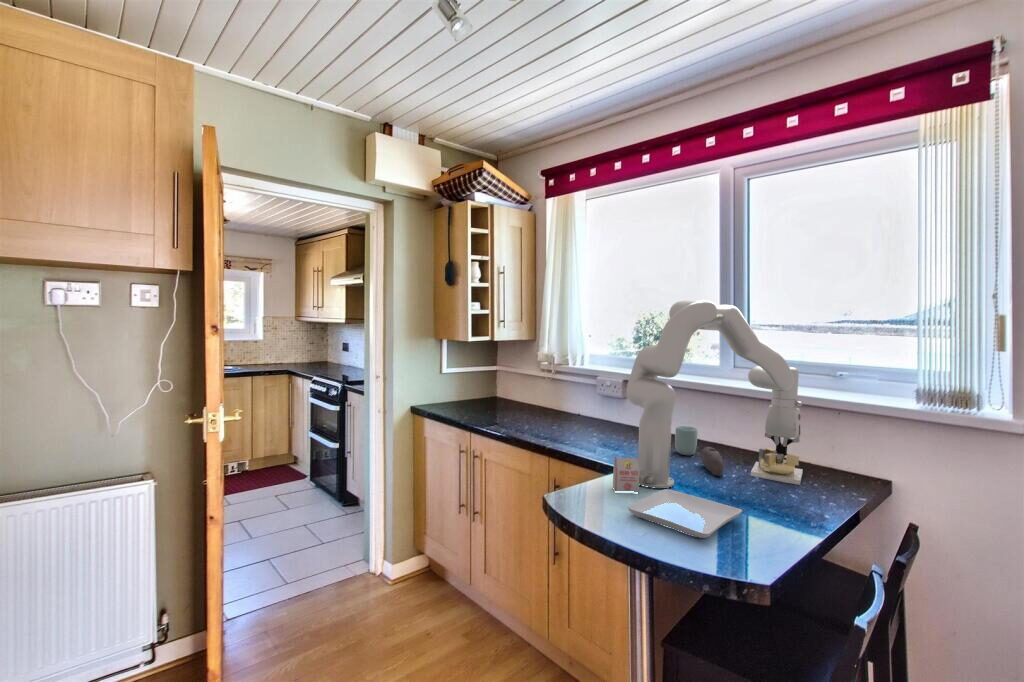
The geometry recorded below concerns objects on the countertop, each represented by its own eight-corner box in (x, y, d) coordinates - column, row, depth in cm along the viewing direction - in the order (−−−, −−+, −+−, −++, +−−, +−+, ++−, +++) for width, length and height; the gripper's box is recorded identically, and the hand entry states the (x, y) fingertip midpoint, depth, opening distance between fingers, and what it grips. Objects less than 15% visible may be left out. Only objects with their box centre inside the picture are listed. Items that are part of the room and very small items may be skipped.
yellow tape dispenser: (802, 471, 160) (803, 454, 159) (789, 477, 153) (790, 460, 152) (767, 462, 168) (768, 447, 168) (753, 468, 161) (753, 452, 161)
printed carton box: (612, 488, 143) (613, 455, 143) (635, 489, 143) (637, 456, 142) (614, 493, 139) (616, 459, 139) (638, 494, 139) (639, 460, 139)
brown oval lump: (727, 479, 155) (728, 458, 155) (710, 478, 156) (711, 457, 155) (715, 465, 170) (716, 446, 169) (699, 464, 170) (700, 445, 170)
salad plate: (624, 518, 123) (624, 505, 123) (665, 498, 138) (666, 486, 137) (707, 549, 108) (707, 533, 107) (743, 522, 123) (743, 509, 122)
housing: (800, 485, 151) (801, 463, 151) (750, 475, 159) (751, 454, 159) (802, 473, 163) (803, 453, 163) (756, 465, 171) (757, 446, 170)
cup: (699, 457, 179) (700, 430, 179) (678, 456, 179) (679, 430, 179) (692, 451, 187) (693, 426, 186) (671, 450, 187) (673, 425, 187)
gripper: (812, 405, 161) (809, 459, 162) (763, 399, 171) (761, 450, 172) (806, 407, 155) (802, 464, 156) (756, 401, 166) (753, 454, 167)
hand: (781, 456), depth 164 cm, fingers closed
